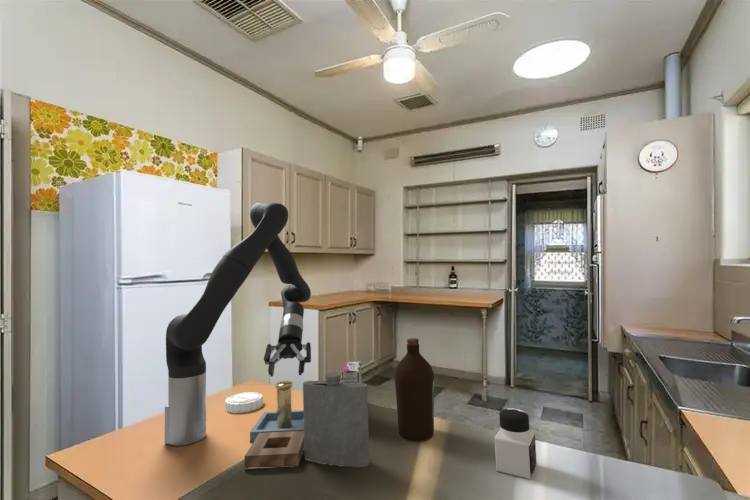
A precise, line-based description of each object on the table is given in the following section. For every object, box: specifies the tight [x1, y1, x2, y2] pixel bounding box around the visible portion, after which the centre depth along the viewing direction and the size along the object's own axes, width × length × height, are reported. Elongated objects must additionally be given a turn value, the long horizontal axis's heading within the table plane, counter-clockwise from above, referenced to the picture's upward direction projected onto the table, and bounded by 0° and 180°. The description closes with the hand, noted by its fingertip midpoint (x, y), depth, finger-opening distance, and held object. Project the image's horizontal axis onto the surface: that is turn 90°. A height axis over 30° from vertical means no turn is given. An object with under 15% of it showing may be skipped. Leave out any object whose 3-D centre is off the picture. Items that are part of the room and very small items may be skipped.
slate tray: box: [249, 409, 304, 443], centre depth 103 cm, size 14×14×2 cm
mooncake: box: [224, 391, 264, 414], centre depth 123 cm, size 12×12×4 cm
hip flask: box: [302, 372, 370, 468], centre depth 85 cm, size 16×4×20 cm, turn 75°
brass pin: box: [274, 380, 294, 429], centre depth 104 cm, size 5×5×12 cm
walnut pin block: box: [244, 431, 304, 468], centre depth 88 cm, size 12×12×3 cm
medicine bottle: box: [494, 407, 538, 480], centre depth 80 cm, size 7×7×12 cm
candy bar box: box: [341, 360, 363, 383], centre depth 107 cm, size 11×5×16 cm, turn 179°
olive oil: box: [394, 337, 435, 442], centre depth 99 cm, size 11×11×25 cm
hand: (285, 374), depth 110 cm, fingers open, 8 cm apart
